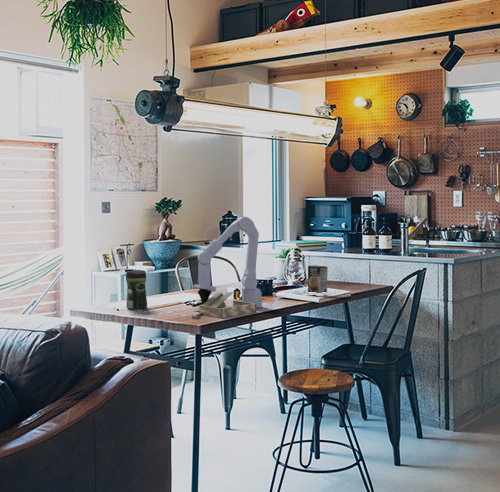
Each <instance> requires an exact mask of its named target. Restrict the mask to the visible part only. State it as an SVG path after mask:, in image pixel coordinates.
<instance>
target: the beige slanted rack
mask: <svg viewBox="0 0 500 492" xmlns="http://www.w3.org/2000/svg"><path fill="white" fill-rule="evenodd" d="M234 293H235V291H231V292H229V291H227V292H226V293H223V292H219V293H218V292H216V293H215V294H213V295H212V296H211V297H209V299H208V300H207V301H206V302H205V303H204V304H202V303H201V305H203V306H209V307H215V308H227V304H226V303H225V301H226V300H227V299H229V297H231V296H232V295H233V294H234ZM194 312H199V306H198V307H197V308H196V309H195V310H194Z"/></svg>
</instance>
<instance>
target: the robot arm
mask: <svg viewBox="0 0 500 492" xmlns="http://www.w3.org/2000/svg"><path fill="white" fill-rule="evenodd" d="M241 231H242V232H244V233H245V234H246V236H247V237H248V238H247V247H246V260H245V267H244V268H245V269H244V271H243V276H242V278H241V284H242V286H243V287H242V288H241V301H243V302H249V303H256V309H257V308H263V306H264V305H262V304H263V299H262V298H263V296H262V295H263V293H262V292H261V291H262V290H261V289H259V288H257V286H258V280H257V271H256V267H257V255H258V247H259V236H260V234H259V231H258V229H257V227H256V225H255V223H254V221H253V220H252V219H251V218H250V217H248V216H244V215H243V216H240V217H238V218H236V220H234V221H233V222H231V224H230V225H229V226H228V227H227V228H226V229H225V230H224V231H223V233H222V234H221V235H219V237H218V238H217V239H212V240H210V241H208V242H209V244H208V245H207V246H205V248H203V249H202V251H201V252H199V253H198V255H197V261H198V273H197V274H198V276H197V277H198V284H193V285H192V286H193V289H194V290H197V294H198V295H199V299H200V301H201V305H202V304H204V303H205V302H206V301H207V300H209V299H210V296H211V294H212V292H216V291H217V287H216V286H213V285H212V284H211V262H212V258H214V257H215V256H216V255H217V254H218V253H219V252H220V251H221V249H223V244H224V243H225V242H226V241H227V240H228V239H229V238H230V237H231V236H232V235H233V234H234V233H237V232H241Z"/></svg>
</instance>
